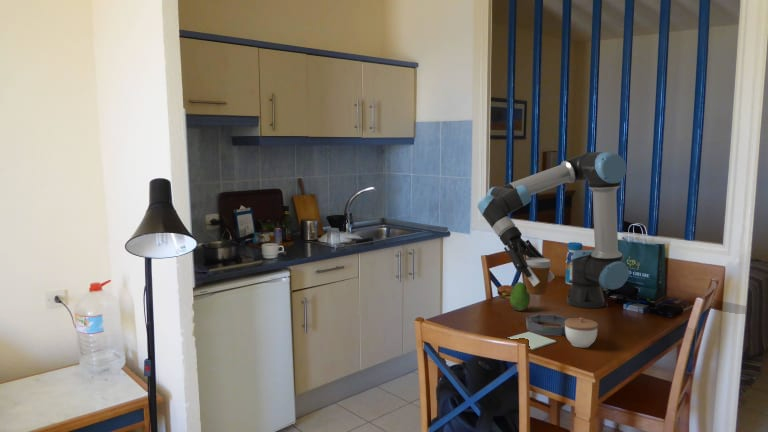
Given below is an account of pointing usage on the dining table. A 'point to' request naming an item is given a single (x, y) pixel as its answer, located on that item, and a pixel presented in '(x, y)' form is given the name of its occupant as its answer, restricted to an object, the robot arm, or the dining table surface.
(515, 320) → the dining table surface
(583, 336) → the lidded jar
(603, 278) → the robot arm
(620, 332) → the dining table surface
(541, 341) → the sage mat
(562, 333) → the grey shallow tray
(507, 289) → the burger
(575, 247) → the beverage bottle
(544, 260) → the disposable coffee cup
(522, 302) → the avocado
